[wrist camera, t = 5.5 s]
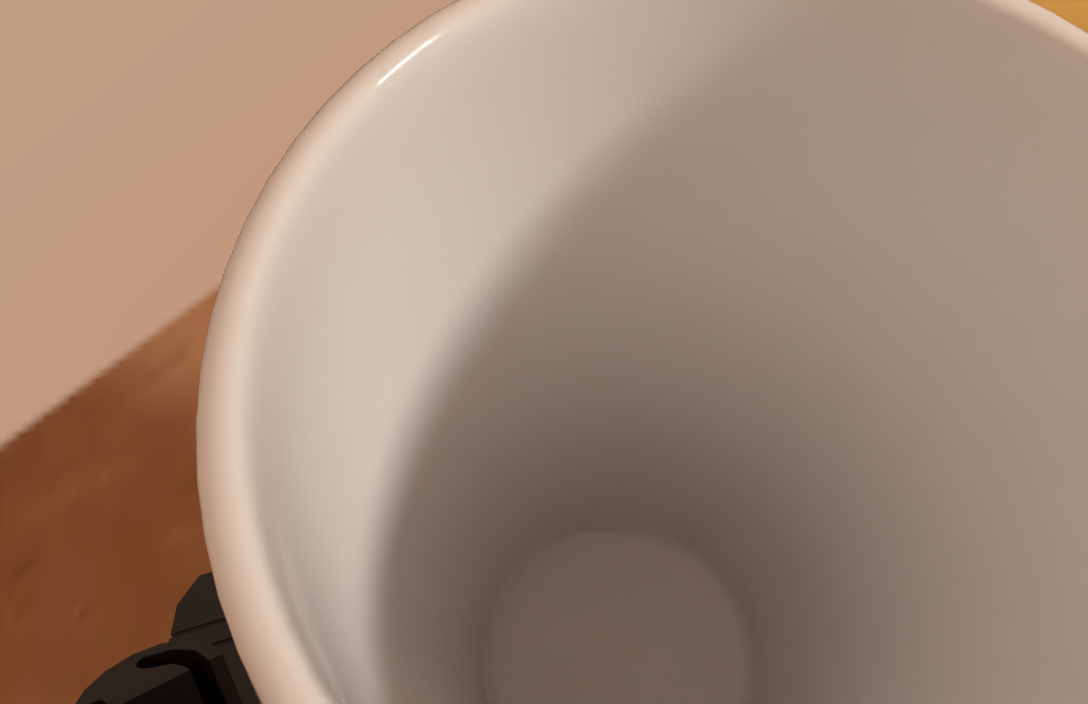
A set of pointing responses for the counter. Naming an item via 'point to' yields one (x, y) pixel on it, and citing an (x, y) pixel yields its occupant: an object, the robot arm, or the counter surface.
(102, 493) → the counter surface
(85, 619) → the counter surface
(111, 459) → the counter surface
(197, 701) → the robot arm
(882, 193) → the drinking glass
